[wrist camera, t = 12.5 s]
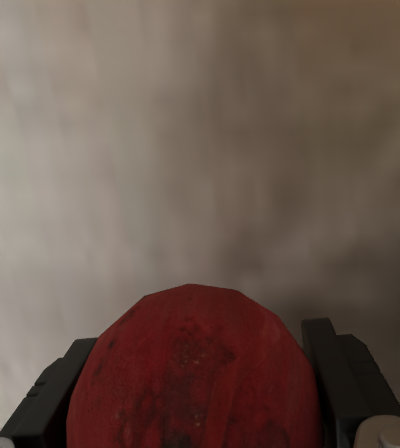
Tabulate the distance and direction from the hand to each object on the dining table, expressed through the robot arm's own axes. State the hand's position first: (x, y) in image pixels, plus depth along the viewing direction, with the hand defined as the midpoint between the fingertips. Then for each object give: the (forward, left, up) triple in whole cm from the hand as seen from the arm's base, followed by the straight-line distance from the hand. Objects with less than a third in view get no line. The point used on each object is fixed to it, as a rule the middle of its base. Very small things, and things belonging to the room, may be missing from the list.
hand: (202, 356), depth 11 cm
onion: (0, 0, -2) cm, 2 cm away
